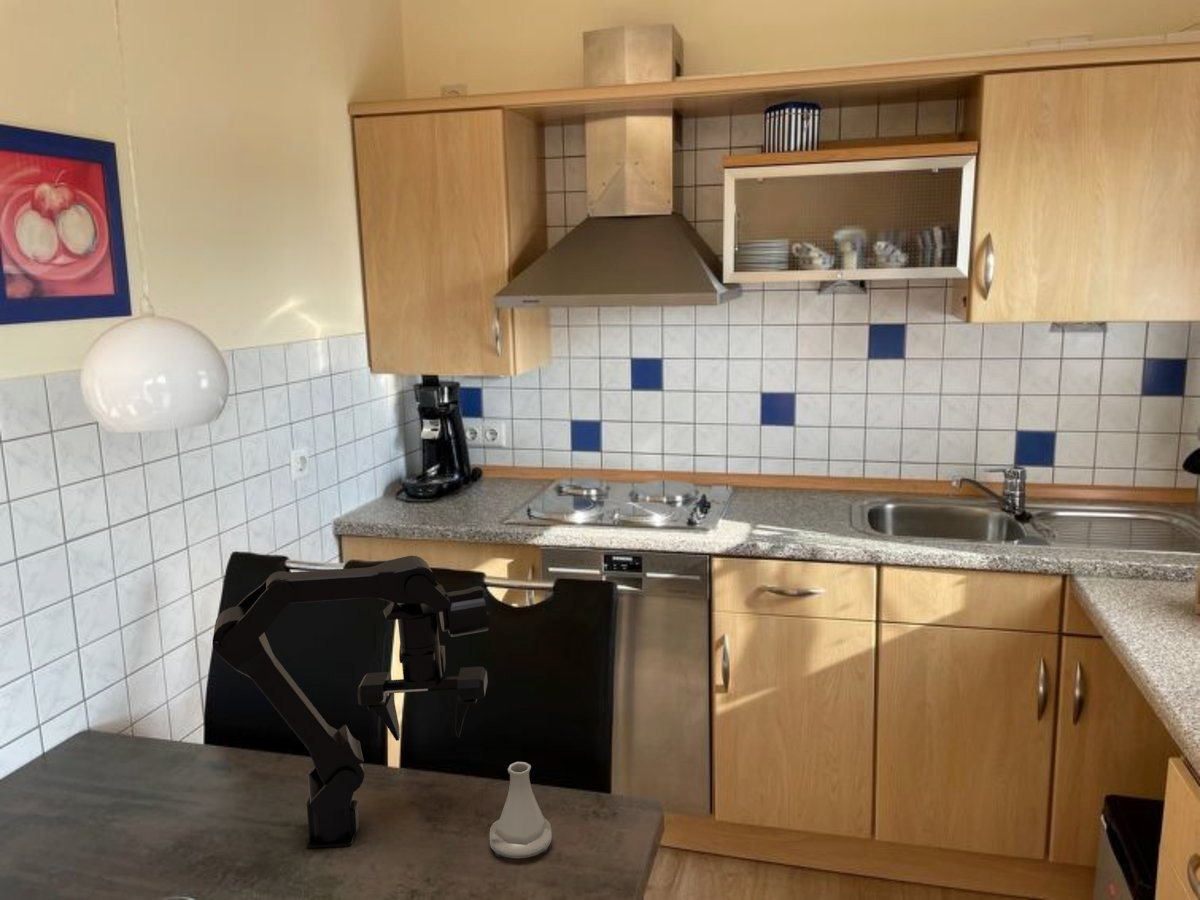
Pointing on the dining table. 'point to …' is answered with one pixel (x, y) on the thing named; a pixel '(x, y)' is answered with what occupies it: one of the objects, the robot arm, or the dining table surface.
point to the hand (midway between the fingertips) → (428, 737)
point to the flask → (520, 809)
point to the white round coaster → (520, 844)
